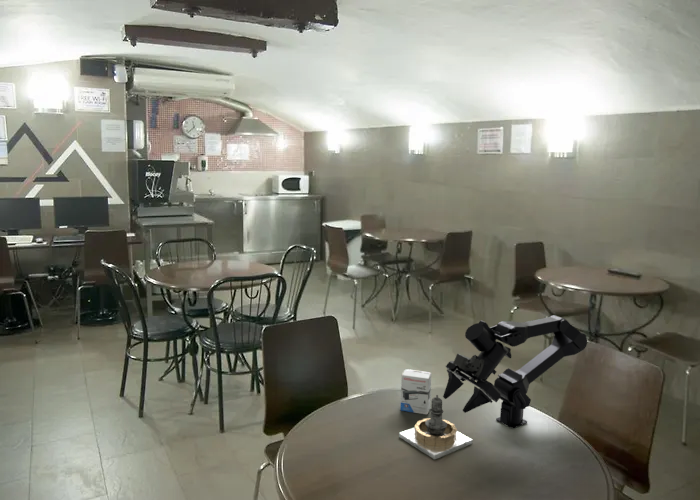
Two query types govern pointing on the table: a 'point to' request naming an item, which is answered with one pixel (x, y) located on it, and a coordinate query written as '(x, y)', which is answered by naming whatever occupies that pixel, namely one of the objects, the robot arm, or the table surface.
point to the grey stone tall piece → (436, 419)
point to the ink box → (415, 391)
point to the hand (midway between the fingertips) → (453, 404)
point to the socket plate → (435, 449)
